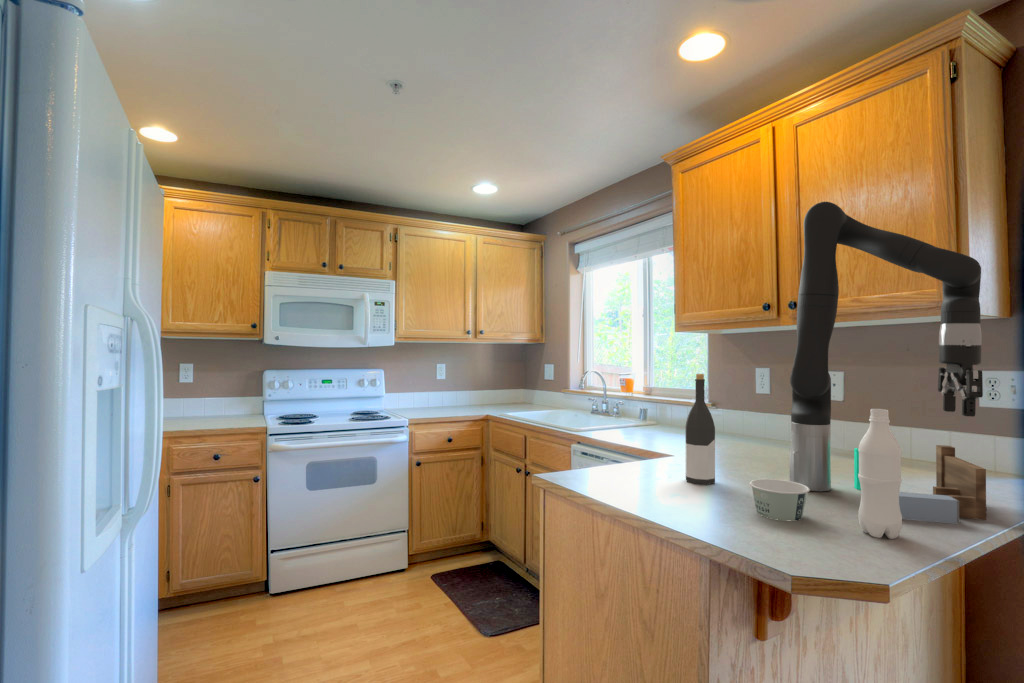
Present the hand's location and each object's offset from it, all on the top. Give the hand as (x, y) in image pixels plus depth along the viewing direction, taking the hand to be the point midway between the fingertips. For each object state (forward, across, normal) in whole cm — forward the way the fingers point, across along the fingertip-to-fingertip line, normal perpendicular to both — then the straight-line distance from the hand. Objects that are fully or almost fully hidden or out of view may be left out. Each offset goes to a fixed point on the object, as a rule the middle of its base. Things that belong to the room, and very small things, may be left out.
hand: (958, 413), depth 122 cm
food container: (+23, +16, -40) cm, 49 cm away
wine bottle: (+23, -10, -55) cm, 61 cm away
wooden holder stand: (+22, -2, -1) cm, 22 cm away
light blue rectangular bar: (+22, +9, -12) cm, 27 cm away
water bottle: (+23, +24, -23) cm, 40 cm away
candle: (+23, -15, -13) cm, 30 cm away
